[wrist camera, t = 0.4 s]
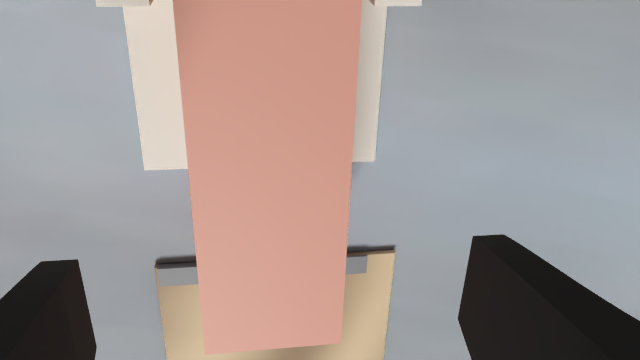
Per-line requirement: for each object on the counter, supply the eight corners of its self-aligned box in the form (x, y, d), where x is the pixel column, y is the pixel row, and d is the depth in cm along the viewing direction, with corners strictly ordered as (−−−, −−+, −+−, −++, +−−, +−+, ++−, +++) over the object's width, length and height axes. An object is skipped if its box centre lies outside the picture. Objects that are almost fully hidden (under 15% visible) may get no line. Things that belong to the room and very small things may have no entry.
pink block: (330, -73, 16) (367, -50, 12) (319, 246, 22) (342, 343, 17) (182, -76, 16) (165, -53, 11) (208, 253, 21) (203, 354, 17)
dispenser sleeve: (416, -383, 14) (471, -454, 11) (364, 268, 23) (385, 331, 20) (68, -416, 13) (18, -505, 9) (160, 281, 22) (149, 350, 19)
